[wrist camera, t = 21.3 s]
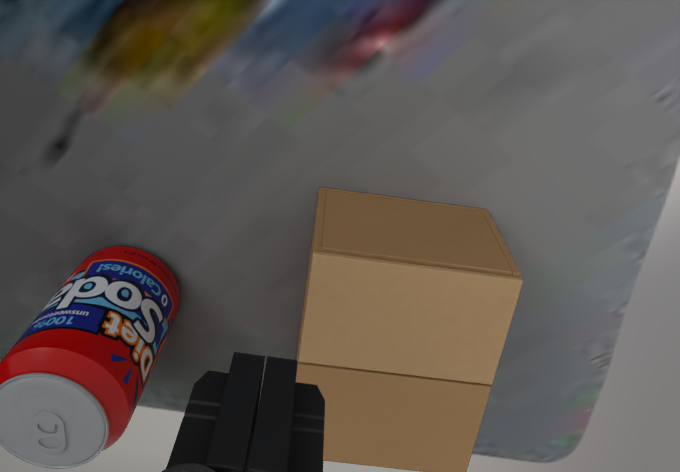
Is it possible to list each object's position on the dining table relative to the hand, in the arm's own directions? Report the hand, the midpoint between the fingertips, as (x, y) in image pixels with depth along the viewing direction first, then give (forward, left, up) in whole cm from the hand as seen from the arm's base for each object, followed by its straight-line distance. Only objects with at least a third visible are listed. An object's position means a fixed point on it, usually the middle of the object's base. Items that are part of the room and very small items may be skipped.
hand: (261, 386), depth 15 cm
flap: (+7, -10, -20) cm, 23 cm away
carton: (+7, -14, -30) cm, 33 cm away
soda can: (-12, -16, -30) cm, 36 cm away
